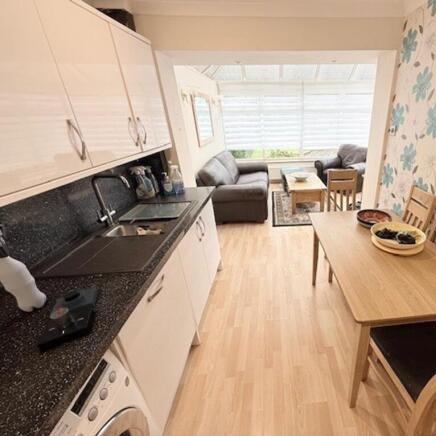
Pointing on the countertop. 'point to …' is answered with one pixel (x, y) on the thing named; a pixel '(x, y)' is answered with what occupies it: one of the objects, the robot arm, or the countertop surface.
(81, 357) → the countertop surface
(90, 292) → the button box
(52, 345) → the dial panel
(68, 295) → the button
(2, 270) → the water bottle
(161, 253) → the countertop surface
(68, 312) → the knob
